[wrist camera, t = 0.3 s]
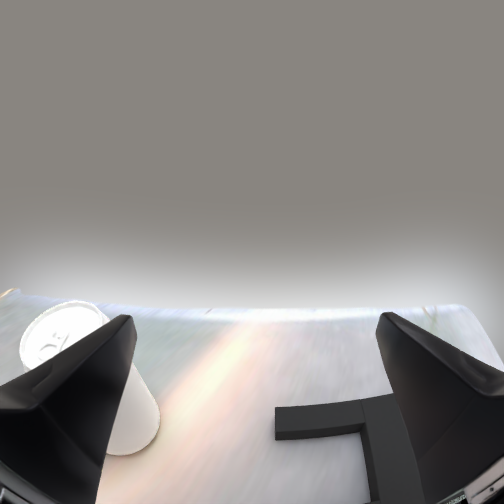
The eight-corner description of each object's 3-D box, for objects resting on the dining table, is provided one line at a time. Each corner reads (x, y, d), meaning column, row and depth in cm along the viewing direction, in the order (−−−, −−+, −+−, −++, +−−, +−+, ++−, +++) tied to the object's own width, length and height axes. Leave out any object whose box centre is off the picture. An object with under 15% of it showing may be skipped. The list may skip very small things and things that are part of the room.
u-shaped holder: (511, 463, 9) (523, 454, 8) (274, 542, 10) (274, 542, 9) (475, 377, 19) (484, 366, 19) (275, 417, 21) (275, 406, 20)
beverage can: (171, 396, 23) (127, 300, 17) (150, 468, 16) (72, 393, 10) (104, 382, 24) (52, 293, 18) (77, 442, 17) (-2, 360, 11)
